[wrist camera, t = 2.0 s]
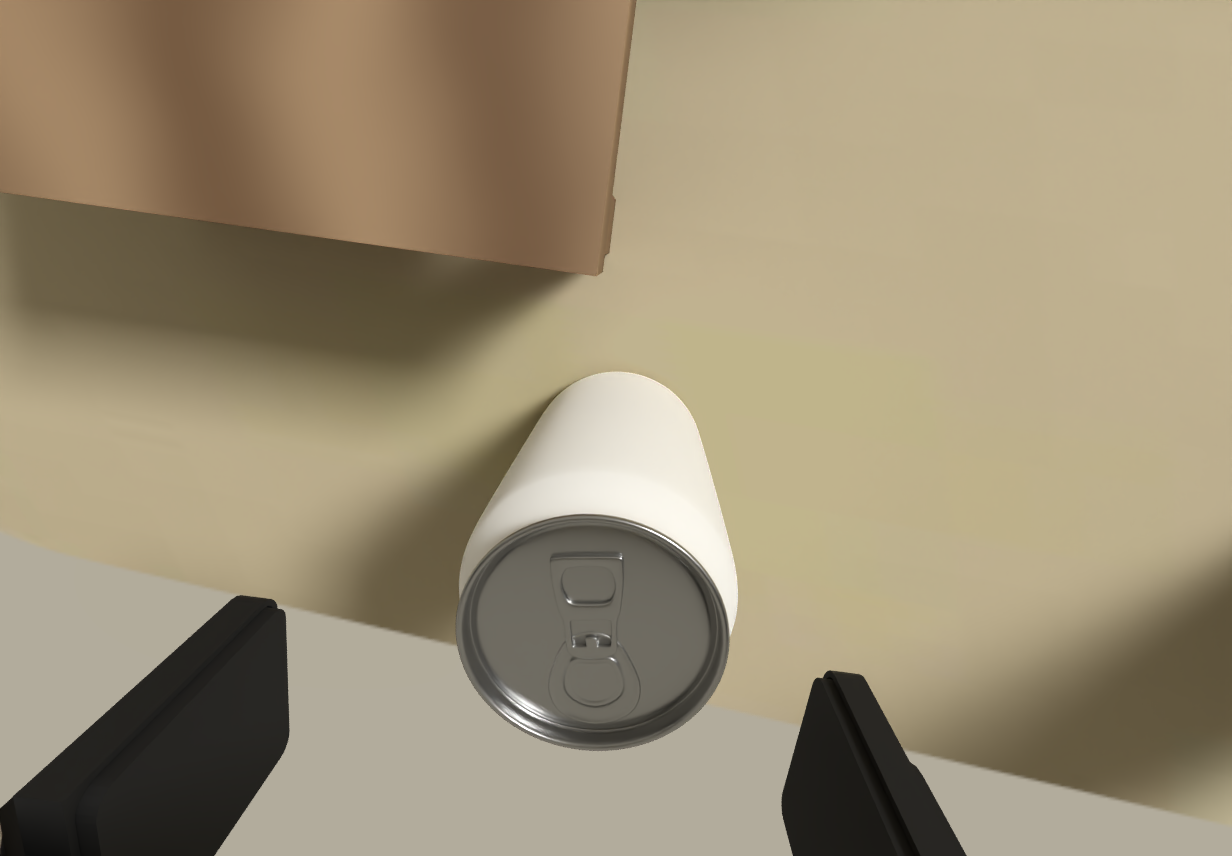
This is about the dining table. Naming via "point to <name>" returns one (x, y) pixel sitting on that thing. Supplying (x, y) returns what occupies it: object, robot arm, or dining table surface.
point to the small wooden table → (329, 117)
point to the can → (600, 572)
